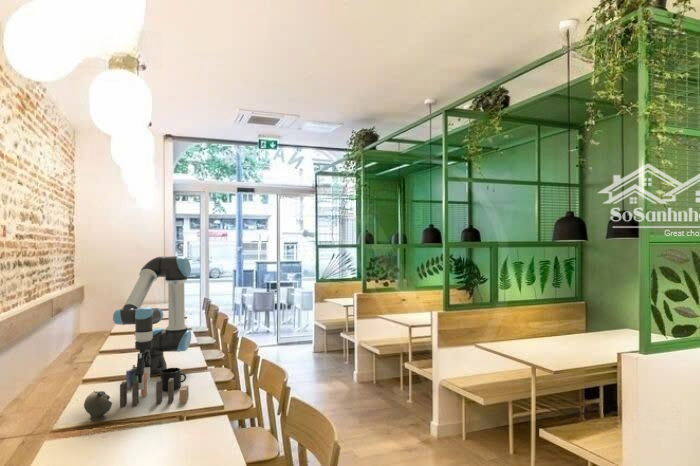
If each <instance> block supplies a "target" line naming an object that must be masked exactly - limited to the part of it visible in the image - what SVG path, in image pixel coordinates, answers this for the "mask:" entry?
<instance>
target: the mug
mask: <svg viewBox="0 0 700 466" xmlns="http://www.w3.org/2000/svg"><path fill="white" fill-rule="evenodd" d="M182 376H184V379H183V380H182ZM170 378H174V391H177V390H180V388H181V386H182V383H184V382H185V381H186V380H187V375H186V373H183V372H182V369H181V368H180V367H167V369H163V370H161V372H160V379H162V392H168V381H169V379H170Z"/></svg>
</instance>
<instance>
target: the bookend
mask: <svg viewBox="0 0 700 466" xmlns="http://www.w3.org/2000/svg"><path fill="white" fill-rule="evenodd" d="M178 390H179V400H178V402H179V403H180V404H186V402H188V399H189V398H188V397H189V393H190V392H189V384H183V385H182V384H181V387H180V388H179V389H178ZM179 403H178V404H179Z"/></svg>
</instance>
